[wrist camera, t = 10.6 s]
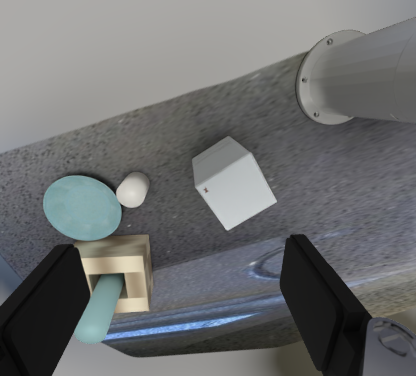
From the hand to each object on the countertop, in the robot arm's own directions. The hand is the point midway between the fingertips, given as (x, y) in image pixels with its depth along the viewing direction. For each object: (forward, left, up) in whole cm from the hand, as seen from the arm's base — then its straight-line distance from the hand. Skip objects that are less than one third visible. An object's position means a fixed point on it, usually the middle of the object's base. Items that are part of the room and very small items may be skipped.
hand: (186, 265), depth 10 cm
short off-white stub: (+8, +6, -28) cm, 29 cm away
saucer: (+17, +10, -28) cm, 34 cm away
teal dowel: (+13, +22, -28) cm, 38 cm away
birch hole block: (+13, +22, -28) cm, 38 cm away
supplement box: (-6, +3, -28) cm, 29 cm away
